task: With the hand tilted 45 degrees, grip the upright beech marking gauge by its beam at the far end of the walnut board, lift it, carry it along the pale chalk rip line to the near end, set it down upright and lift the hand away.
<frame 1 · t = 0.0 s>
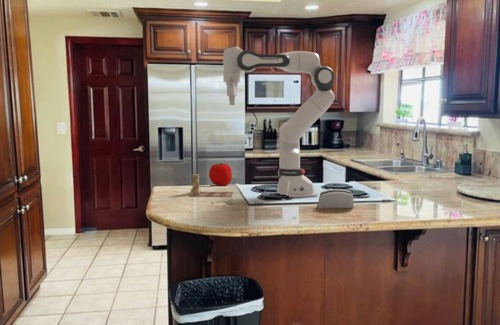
hand: (232, 105, 225), 48 cm above the worktop, tool pointing down, fingers open, 8 cm apart
walnut board: (211, 197, 224), on the worktop
tomato: (220, 185, 257), on the worktop
marking gauge: (196, 193, 226), point 1 cm above the worktop, touching walnut board
grey arched slab: (335, 208, 200), on the worktop
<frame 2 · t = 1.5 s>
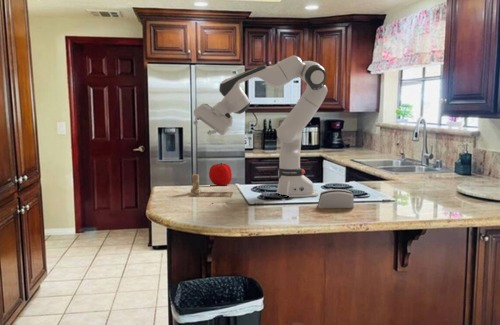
hand: (201, 128, 212), 36 cm above the worktop, tool tilted 55°, fingers open, 8 cm apart
nothing on the worktop moved.
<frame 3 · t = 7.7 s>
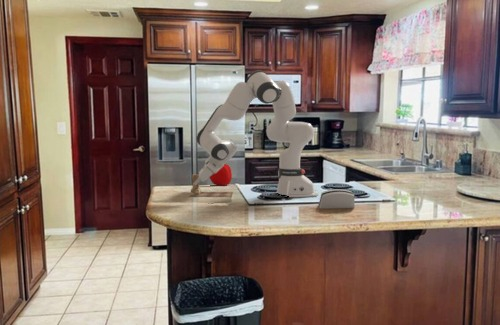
hand: (194, 183, 226), 7 cm above the worktop, tool tilted 45°, fingers closed on marking gauge, 3 cm apart
marking gauge: (196, 193, 226), point 2 cm above the worktop, touching gripper, walnut board
everything else where it was.
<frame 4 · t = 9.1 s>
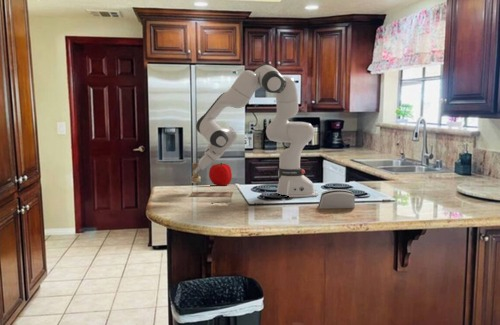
hand: (194, 171, 225), 13 cm above the worktop, tool tilted 45°, fingers closed on marking gauge, 3 cm apart
marking gauge: (196, 181, 226), point 8 cm above the worktop, touching gripper
everything else where it was.
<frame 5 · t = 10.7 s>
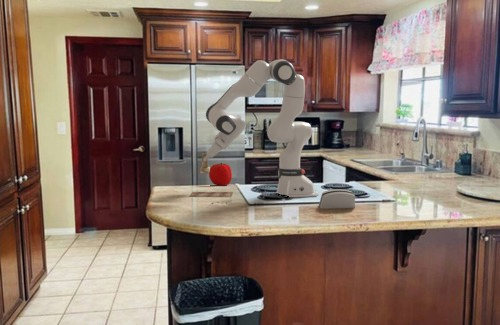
hand: (204, 160, 226), 19 cm above the worktop, tool tilted 45°, fingers closed on marking gauge, 3 cm apart
marking gauge: (205, 172, 227), point 12 cm above the worktop, touching gripper
everything else where it was.
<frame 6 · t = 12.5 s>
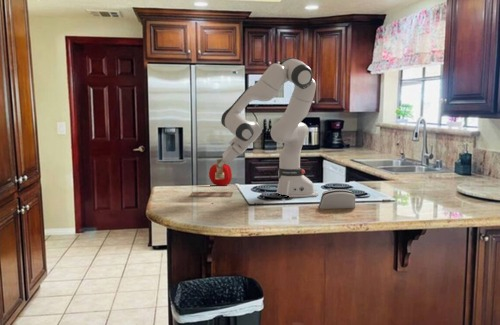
hand: (218, 165, 223), 17 cm above the worktop, tool tilted 45°, fingers closed on marking gauge, 3 cm apart
marking gauge: (219, 178, 224), point 10 cm above the worktop, touching gripper
everything else where it was.
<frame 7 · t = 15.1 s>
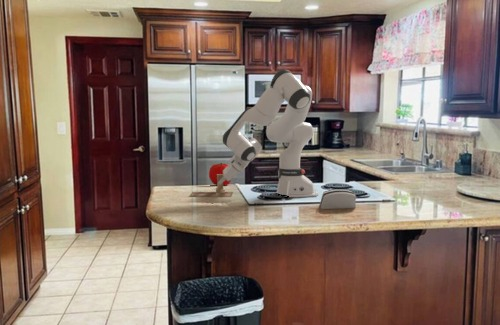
hand: (218, 182, 225), 7 cm above the worktop, tool tilted 45°, fingers closed on marking gauge, 3 cm apart
marking gauge: (220, 193, 226), point 2 cm above the worktop, touching gripper
when the fingers open (7 cm above the worktop, at t = 15.1 s): marking gauge stays where it is, resting on walnut board.
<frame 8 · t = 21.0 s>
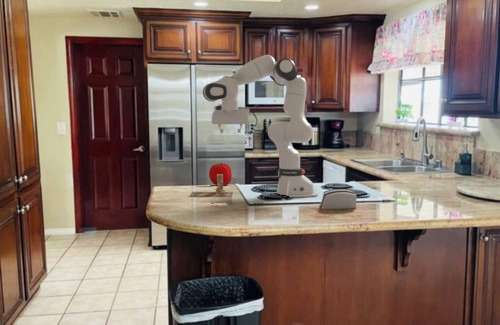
hand: (230, 132, 231), 33 cm above the worktop, tool pointing down, fingers open, 8 cm apart
marking gauge: (220, 193, 226), point 1 cm above the worktop, touching walnut board
at the end: marking gauge inside the target area (0.2 cm from its centre), point 1.5 cm above the worktop; marking gauge tilted 0°; the gripper is holding nothing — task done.
